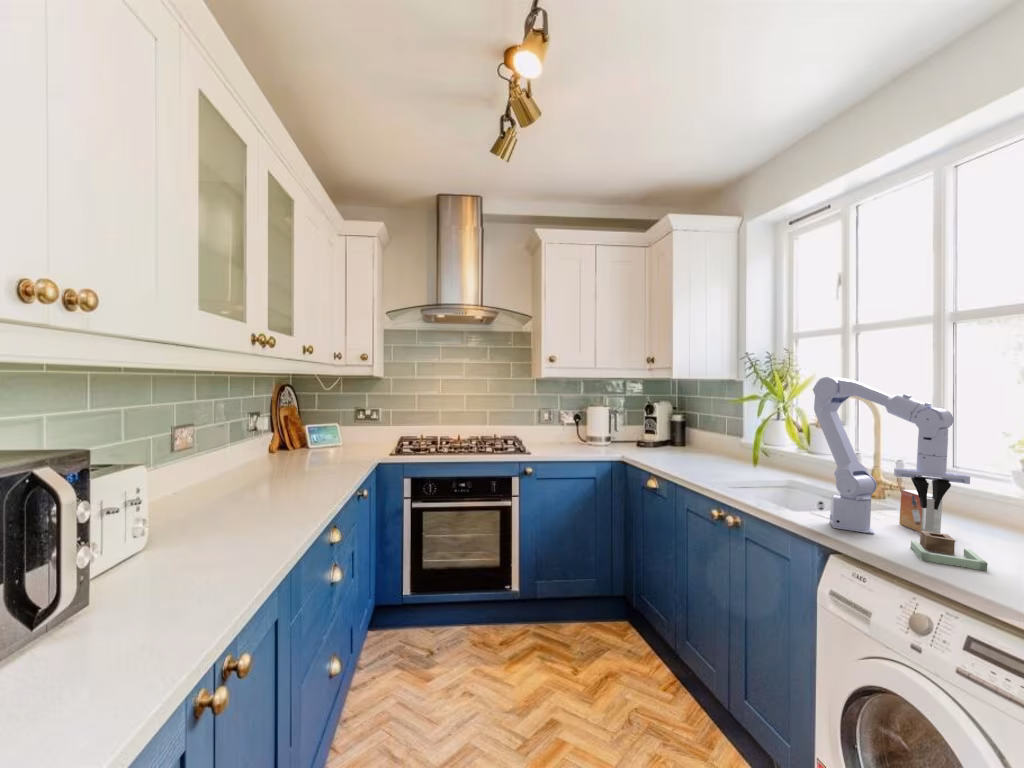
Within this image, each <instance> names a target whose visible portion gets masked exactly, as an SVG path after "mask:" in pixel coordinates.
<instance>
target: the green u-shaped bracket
mask: <svg viewBox="0 0 1024 768" xmlns="http://www.w3.org/2000/svg"><path fill="white" fill-rule="evenodd" d="M910 548H911V550H912V549H913V550H914V551H913V550H912V551H913V552H914V553H915V554H916V555H917V557H919V559H920V558H921V559H922V560H921V559H920V560H921V561H923V560H924V561H925V562H929V561H930V563H935V562H936V563H937V564H941V563H944V564H943V565H947V564H950V565H949V566H953V565H956V566H955V567H959V566H961V568H966V567H967V568H966V569H972V568H973V570H978V571H985V572H988V562H987V561H986V560H984V559H983V558H982V557H980V556H979V555H978V554H976V553H977V552H975V551H973V550H972V549H970V548H963V557H960V556H955V555H947V554H941V553H936V552H935V553H934V552H928V550H925V548H924V547H923V546H922V545H921V544H920V542H919V541H917V540H910ZM924 561H923V562H924ZM936 563H935V564H936Z"/></svg>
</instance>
